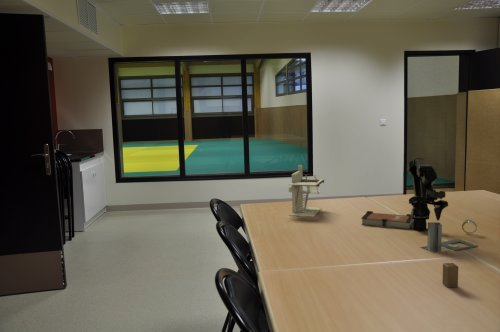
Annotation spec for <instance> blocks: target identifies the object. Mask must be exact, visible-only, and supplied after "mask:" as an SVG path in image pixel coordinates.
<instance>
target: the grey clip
mask: <svg viewBox="0 0 500 332" xmlns="http://www.w3.org/2000/svg"><path fill="white" fill-rule="evenodd" d="M427 229H428V230H427V245H426V246H427V247H428V249H429V250H433V248H437V250H441V247H442V246H441V242H442V238H443V237H442V236H443V235H442V232H443V231H442V230H443V225H442V224H441V222H436V221H435V222H433V221H431V222H427Z"/></svg>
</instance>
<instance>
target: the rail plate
mask: <svg viewBox="0 0 500 332" xmlns="http://www.w3.org/2000/svg"><path fill="white" fill-rule="evenodd" d="M455 244H462V245H465V246H462V247H460V246H457V245H455ZM441 247H442V248H445V249H448V250H451V251H454V252H458V251H463V250H468V249H472V248H479V245H478V244H474V243H472V242H468V241H466V240H462V239H459V238H458V239H457V238H456V239H452V240H446V241H441Z"/></svg>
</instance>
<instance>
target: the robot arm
mask: <svg viewBox="0 0 500 332" xmlns="http://www.w3.org/2000/svg"><path fill="white" fill-rule="evenodd" d="M407 172H408V176H409V177H410V178H411V179H412V184H413V185H412V187H413V193H414V194H413V196H411V197H410V198H409V199H408V204H409V205H411V206H412V208H411V211H410V214H411V218H412V219H413V223H412V227H410V229H411V230H415V231H417V232H423V231H424V232H425V231H428V227H427V226H428V222H427V220H429V219H430V214H431V210H430V208H429V207H428V205H430V206H431V205H432V206H433V211H434V215H435V219H436V221H440V218H441V216H442V213H443V210H444V209H446V208H447V207H449V202H448V201H447V200H443V199H445V198H446V196H447V195H446V191H444V190H440V191H437V190H436V189H434V184H435V183H436V180H437V178H438V175H437V172H436V170H435V169H434V167H433V166H432V165H431V164H427V163H426V162H425V160H424V158H423V157H414V158H413V159H412V160H411V161H409V162H408V164H407Z"/></svg>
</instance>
